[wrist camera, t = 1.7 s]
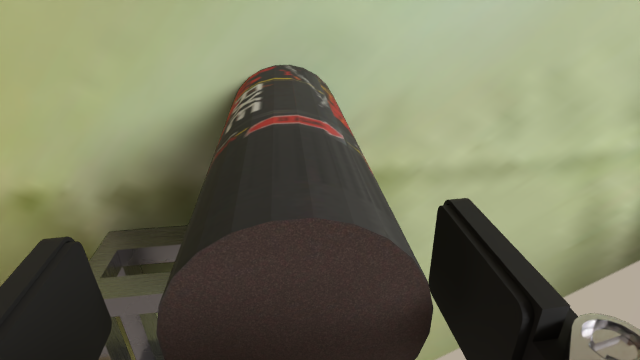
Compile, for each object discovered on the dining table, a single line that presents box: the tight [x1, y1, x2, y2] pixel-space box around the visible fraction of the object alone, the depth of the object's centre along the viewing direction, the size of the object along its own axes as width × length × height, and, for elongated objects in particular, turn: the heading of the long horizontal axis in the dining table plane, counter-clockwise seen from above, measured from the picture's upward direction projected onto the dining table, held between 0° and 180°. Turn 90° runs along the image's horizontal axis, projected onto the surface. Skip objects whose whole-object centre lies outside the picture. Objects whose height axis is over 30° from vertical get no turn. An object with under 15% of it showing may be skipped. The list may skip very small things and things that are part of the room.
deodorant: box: [156, 65, 433, 360], centre depth 15 cm, size 6×6×15 cm
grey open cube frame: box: [89, 225, 188, 360], centre depth 24 cm, size 11×11×7 cm
